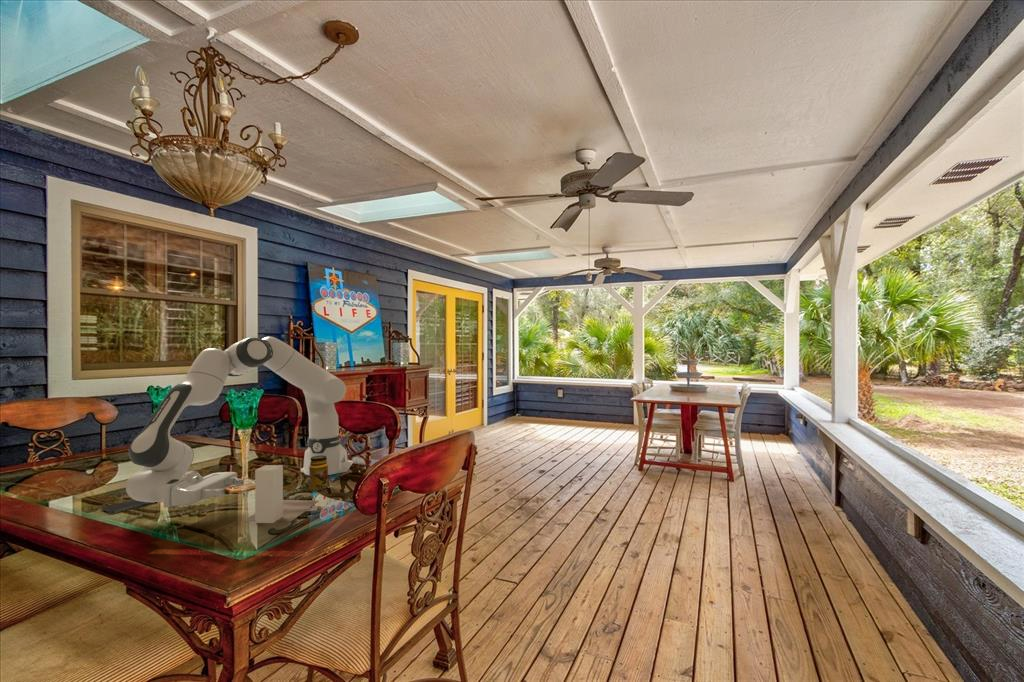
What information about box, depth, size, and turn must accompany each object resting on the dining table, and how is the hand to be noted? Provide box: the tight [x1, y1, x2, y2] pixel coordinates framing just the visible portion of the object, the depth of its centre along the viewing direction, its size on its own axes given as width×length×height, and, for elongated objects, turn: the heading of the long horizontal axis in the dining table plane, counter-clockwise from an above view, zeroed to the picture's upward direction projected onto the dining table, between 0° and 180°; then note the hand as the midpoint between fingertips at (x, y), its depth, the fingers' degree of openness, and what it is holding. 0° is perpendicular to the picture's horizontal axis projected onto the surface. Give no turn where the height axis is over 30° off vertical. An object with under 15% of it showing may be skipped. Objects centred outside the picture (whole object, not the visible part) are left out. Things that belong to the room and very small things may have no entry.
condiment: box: [308, 455, 329, 492], centre depth 165 cm, size 7×8×12 cm
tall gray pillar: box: [254, 464, 284, 524], centre depth 135 cm, size 5×5×15 cm
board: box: [243, 499, 319, 523], centre depth 143 cm, size 18×14×1 cm
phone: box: [101, 499, 156, 514], centre depth 151 cm, size 8×1×15 cm
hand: (232, 487), depth 136 cm, fingers open, 8 cm apart
